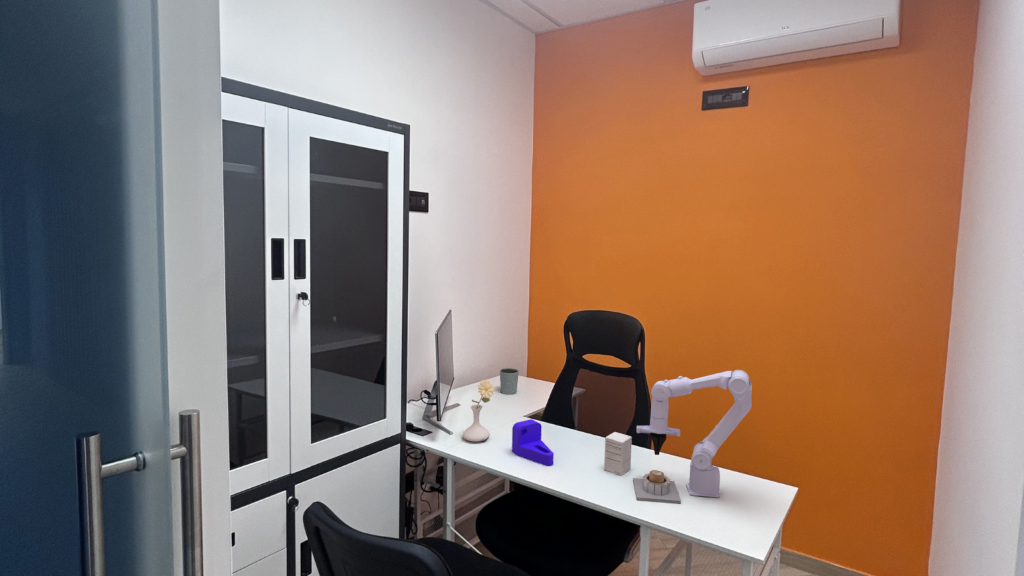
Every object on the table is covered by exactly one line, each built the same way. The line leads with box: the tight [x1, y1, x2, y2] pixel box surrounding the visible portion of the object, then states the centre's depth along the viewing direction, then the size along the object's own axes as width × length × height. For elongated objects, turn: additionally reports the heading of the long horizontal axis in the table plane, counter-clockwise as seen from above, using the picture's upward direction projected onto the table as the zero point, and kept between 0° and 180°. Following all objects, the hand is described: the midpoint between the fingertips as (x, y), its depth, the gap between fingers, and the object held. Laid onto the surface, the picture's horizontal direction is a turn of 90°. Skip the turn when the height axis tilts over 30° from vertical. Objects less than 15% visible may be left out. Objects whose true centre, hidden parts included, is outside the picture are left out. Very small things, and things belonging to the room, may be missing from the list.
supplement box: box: [603, 431, 633, 476], centre depth 200 cm, size 7×7×13 cm
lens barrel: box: [642, 473, 671, 495], centre depth 185 cm, size 9×9×4 cm
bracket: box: [511, 418, 554, 467], centre depth 210 cm, size 18×11×12 cm, turn 35°
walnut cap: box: [648, 469, 665, 484], centre depth 184 cm, size 5×5×6 cm
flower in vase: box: [462, 379, 495, 442], centre depth 227 cm, size 13×11×25 cm
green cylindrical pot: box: [499, 367, 520, 396], centre depth 291 cm, size 10×10×12 cm
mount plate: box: [632, 477, 682, 505], centre depth 185 cm, size 14×14×1 cm
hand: (656, 453), depth 191 cm, fingers closed
